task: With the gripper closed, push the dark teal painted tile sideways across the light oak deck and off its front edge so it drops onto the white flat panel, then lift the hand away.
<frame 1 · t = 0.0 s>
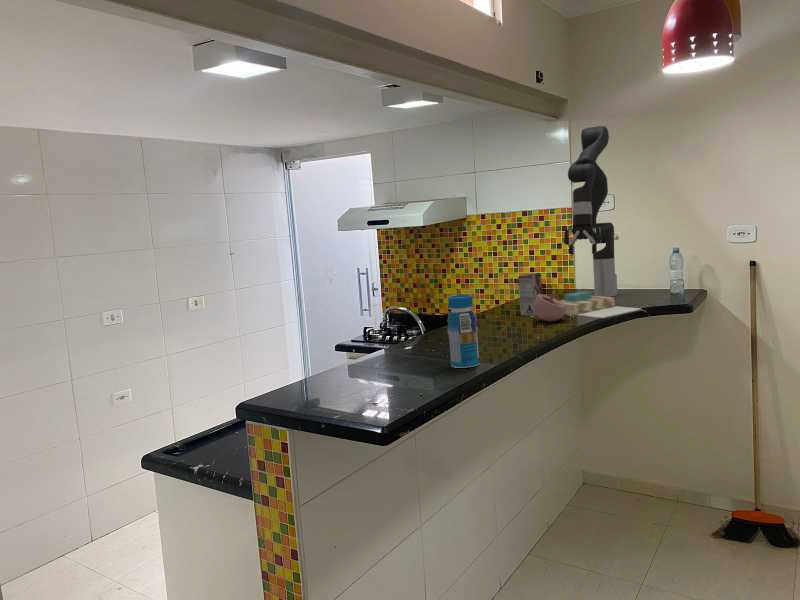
hand: (582, 254, 246), 22 cm above the counter, tool pointing down, fingers open, 8 cm apart
coffee box: (532, 314, 249), on the counter
oak deck: (582, 309, 248), on the counter
mortar and pestle: (551, 321, 229), on the counter
teal tile: (577, 296, 249), point 5 cm above the counter, touching oak deck
white flat panel: (609, 312, 236), on the counter
beverage bottle: (465, 366, 173), on the counter
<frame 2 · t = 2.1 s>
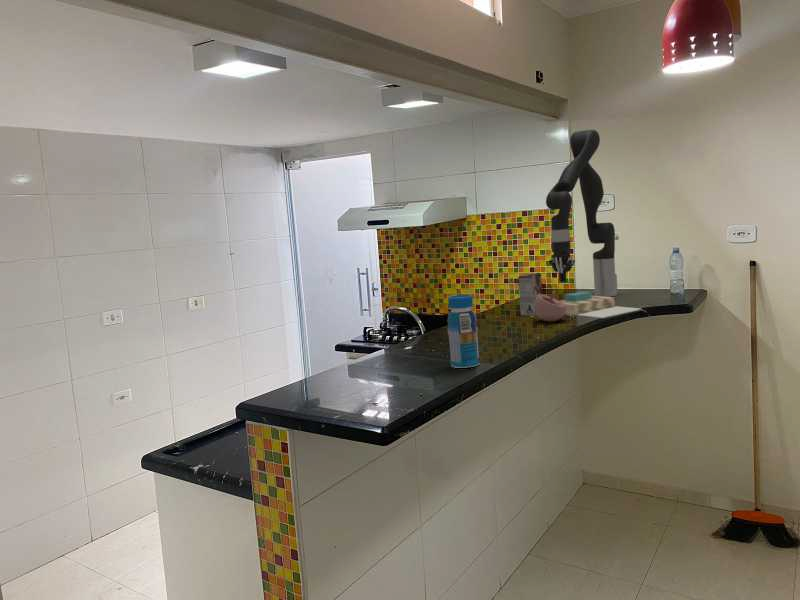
hand: (562, 282, 255), 11 cm above the counter, tool pointing down, fingers closed
nothing on the counter moved.
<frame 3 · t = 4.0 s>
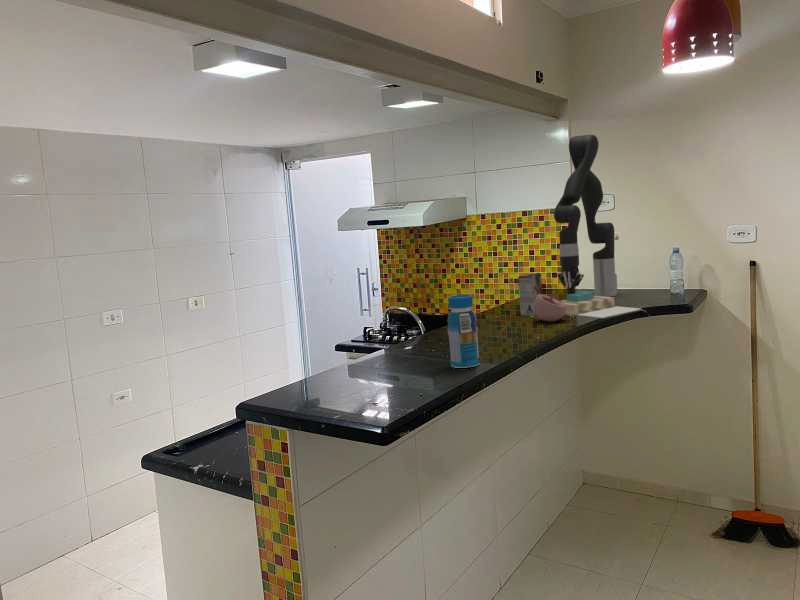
hand: (571, 296, 252), 5 cm above the counter, tool pointing down, fingers closed
teal tile: (579, 296, 248), point 5 cm above the counter, touching gripper, oak deck
everything else where it was.
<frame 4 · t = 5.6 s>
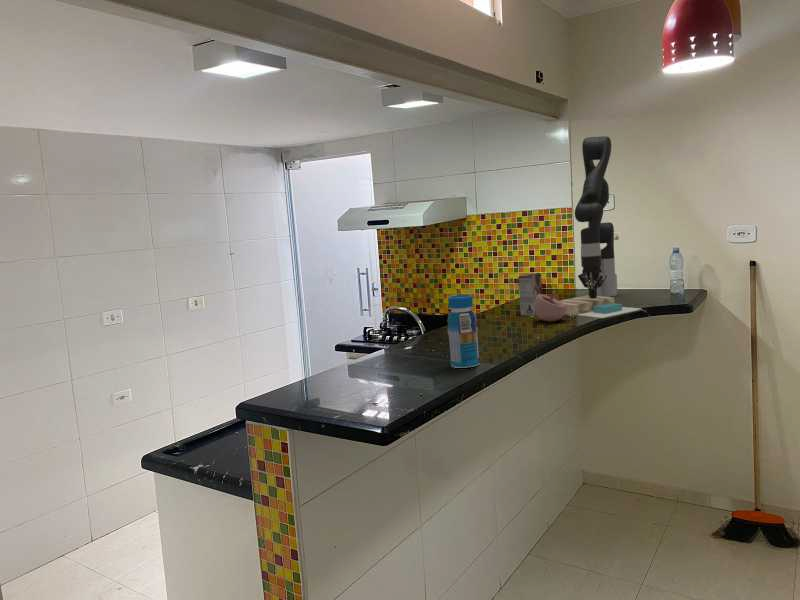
hand: (593, 298, 242), 5 cm above the counter, tool pointing down, fingers closed
teal tile: (607, 308, 237), point 2 cm above the counter, tilted 180°, touching white flat panel
everything else where it was.
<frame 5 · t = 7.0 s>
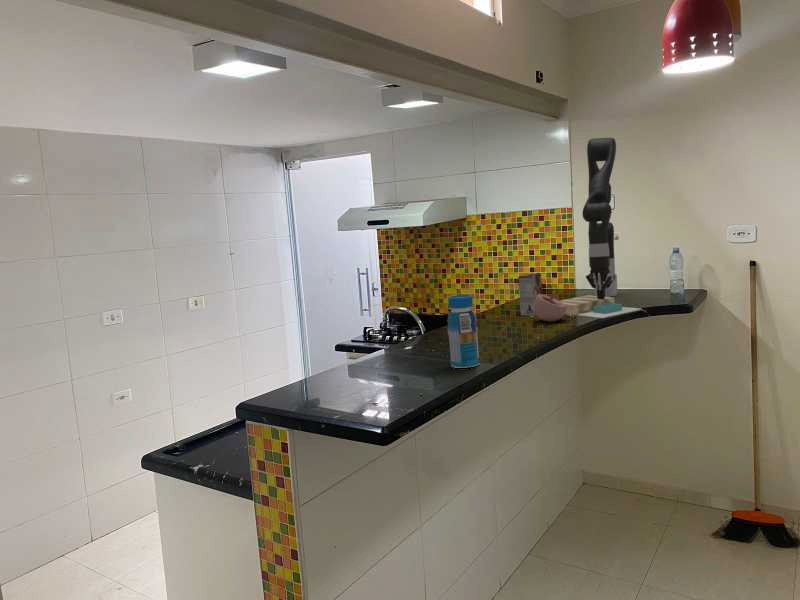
hand: (601, 299, 239), 5 cm above the counter, tool pointing down, fingers closed
nothing on the counter moved.
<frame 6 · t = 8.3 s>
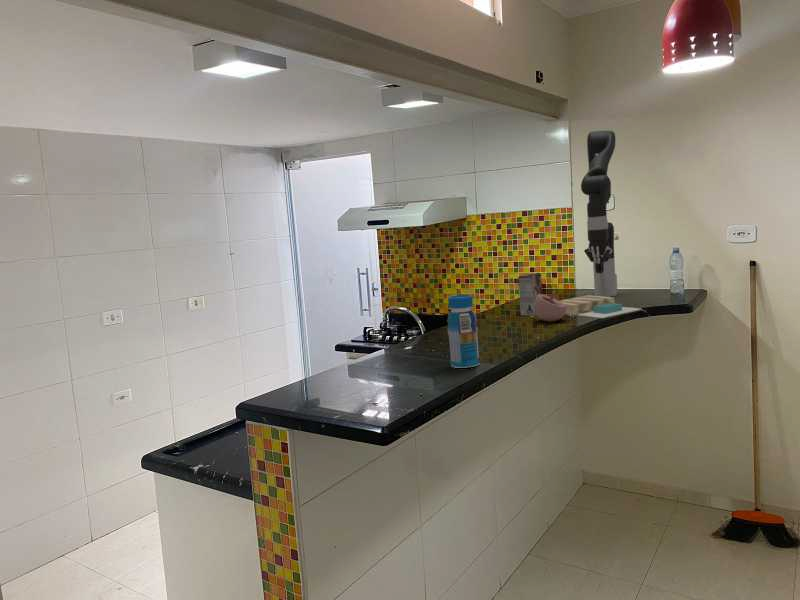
hand: (599, 272, 238), 15 cm above the counter, tool pointing down, fingers closed
nothing on the counter moved.
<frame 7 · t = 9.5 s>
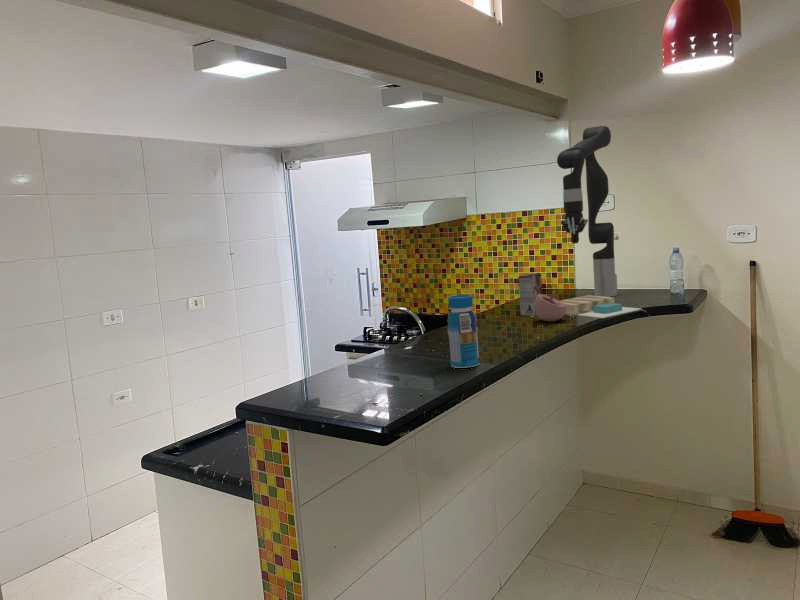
hand: (575, 243, 251), 27 cm above the counter, tool pointing down, fingers closed
nothing on the counter moved.
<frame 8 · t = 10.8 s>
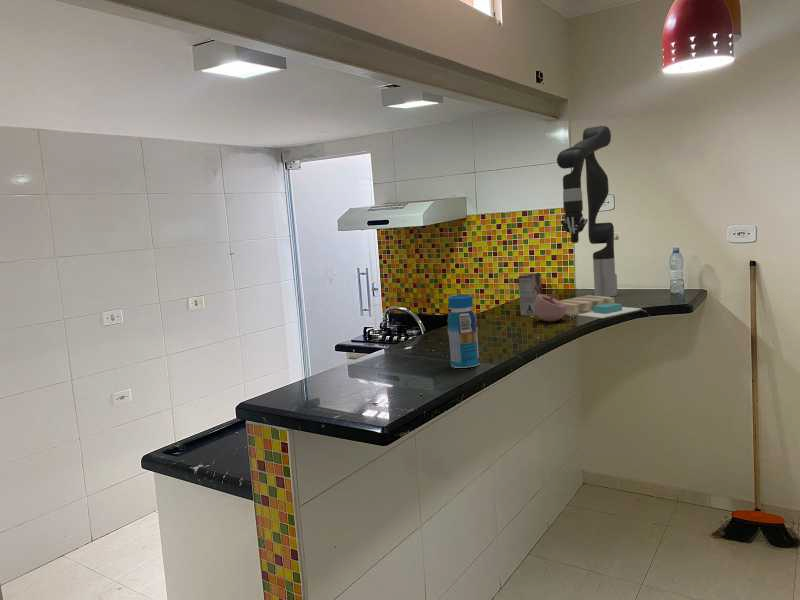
hand: (574, 242, 251), 27 cm above the counter, tool pointing down, fingers closed
nothing on the counter moved.
at the end: teal tile point 1.6 cm above the counter; teal tile inside the target area (0.9 cm from its centre), point 1.6 cm above the counter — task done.
